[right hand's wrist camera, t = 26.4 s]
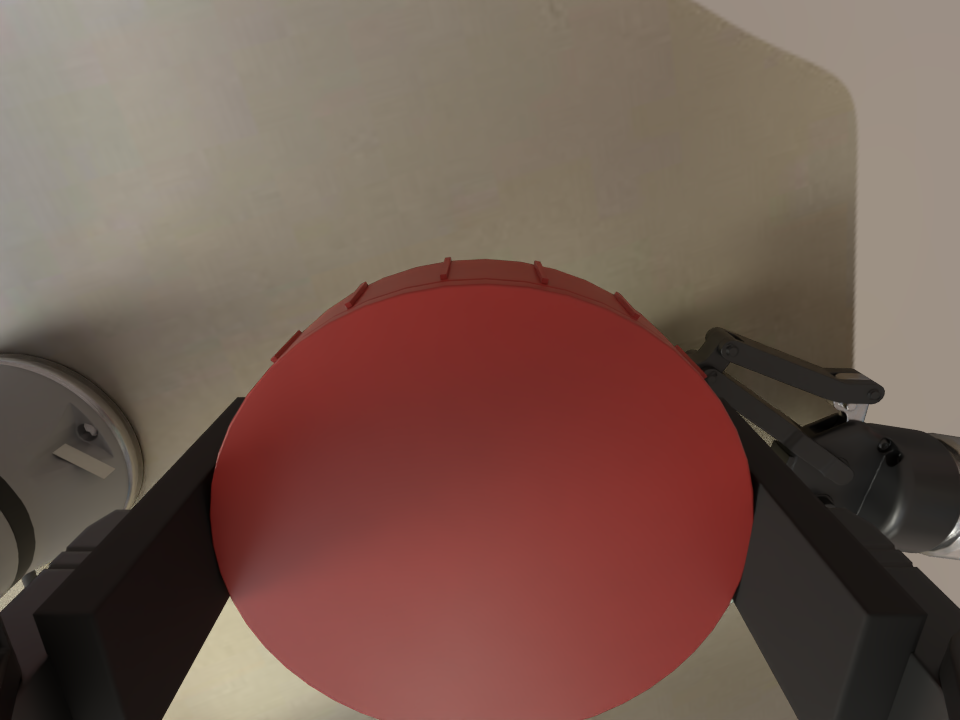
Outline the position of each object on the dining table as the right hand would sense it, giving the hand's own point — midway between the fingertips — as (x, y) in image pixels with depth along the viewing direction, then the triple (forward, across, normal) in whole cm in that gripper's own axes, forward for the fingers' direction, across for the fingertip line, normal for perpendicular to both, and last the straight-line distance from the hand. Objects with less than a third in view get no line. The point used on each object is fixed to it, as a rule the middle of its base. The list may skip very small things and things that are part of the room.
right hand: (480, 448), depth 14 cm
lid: (-3, 0, 0) cm, 3 cm away
